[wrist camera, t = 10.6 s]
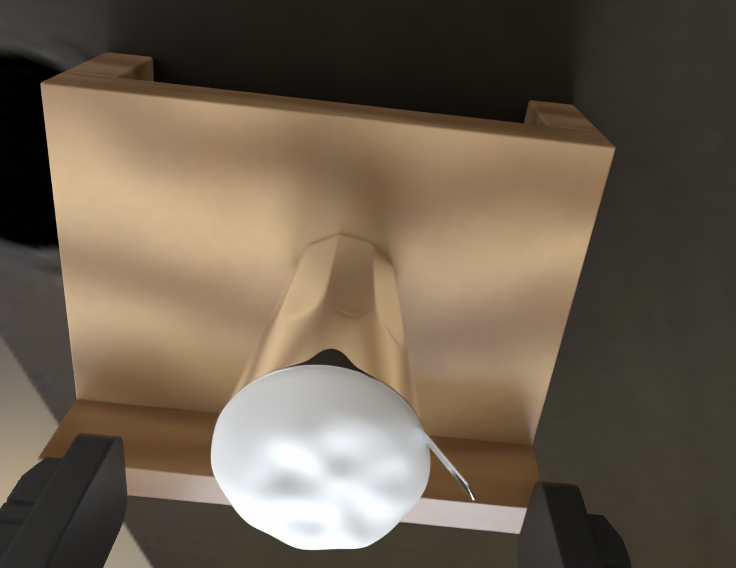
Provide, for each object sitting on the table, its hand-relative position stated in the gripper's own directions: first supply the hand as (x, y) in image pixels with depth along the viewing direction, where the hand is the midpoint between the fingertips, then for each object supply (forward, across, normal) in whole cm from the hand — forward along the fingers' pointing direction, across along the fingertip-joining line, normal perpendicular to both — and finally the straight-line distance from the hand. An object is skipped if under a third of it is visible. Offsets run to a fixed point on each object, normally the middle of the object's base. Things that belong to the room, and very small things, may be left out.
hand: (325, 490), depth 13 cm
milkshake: (+9, 0, 0) cm, 9 cm away
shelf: (+14, +1, +1) cm, 14 cm away
